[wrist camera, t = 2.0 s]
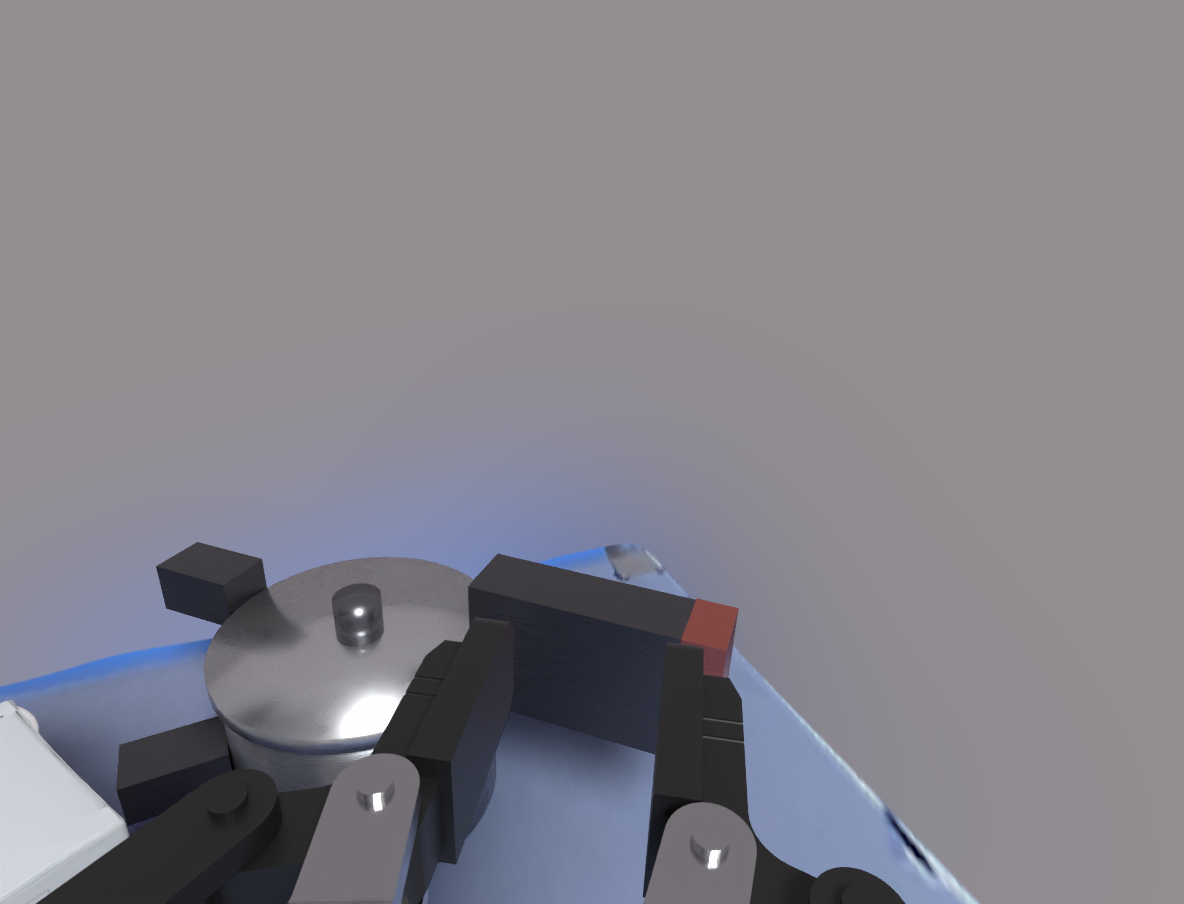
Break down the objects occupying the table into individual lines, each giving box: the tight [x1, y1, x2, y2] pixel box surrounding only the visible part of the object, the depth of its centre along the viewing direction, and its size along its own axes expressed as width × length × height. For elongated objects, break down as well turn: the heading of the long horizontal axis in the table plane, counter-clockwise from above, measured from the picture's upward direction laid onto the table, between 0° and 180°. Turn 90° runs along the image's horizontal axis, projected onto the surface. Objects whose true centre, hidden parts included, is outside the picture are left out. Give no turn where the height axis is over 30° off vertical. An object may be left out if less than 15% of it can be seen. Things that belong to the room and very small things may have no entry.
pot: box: [117, 716, 496, 862], centre depth 45 cm, size 27×23×10 cm
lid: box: [156, 542, 738, 755], centre depth 39 cm, size 33×16×7 cm, turn 71°
